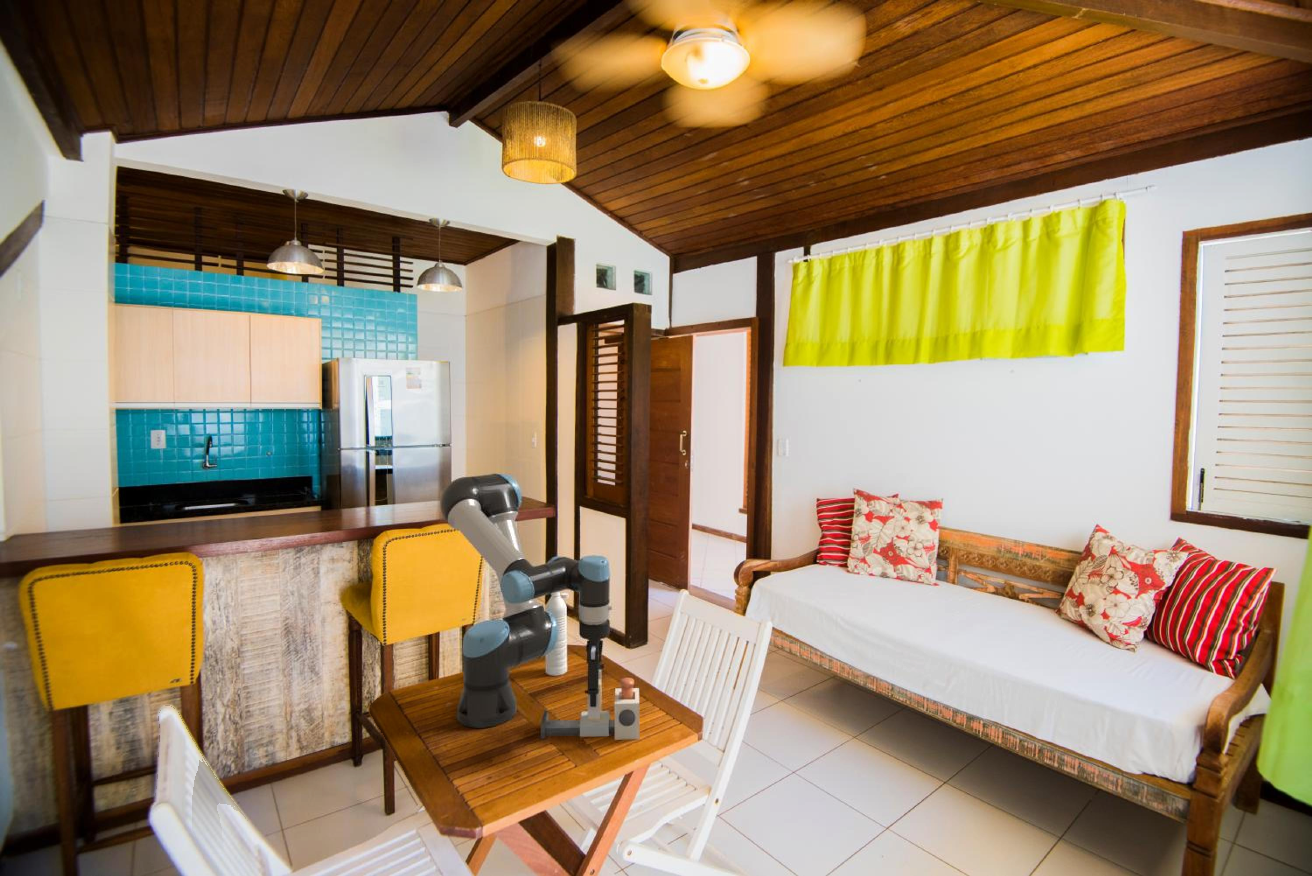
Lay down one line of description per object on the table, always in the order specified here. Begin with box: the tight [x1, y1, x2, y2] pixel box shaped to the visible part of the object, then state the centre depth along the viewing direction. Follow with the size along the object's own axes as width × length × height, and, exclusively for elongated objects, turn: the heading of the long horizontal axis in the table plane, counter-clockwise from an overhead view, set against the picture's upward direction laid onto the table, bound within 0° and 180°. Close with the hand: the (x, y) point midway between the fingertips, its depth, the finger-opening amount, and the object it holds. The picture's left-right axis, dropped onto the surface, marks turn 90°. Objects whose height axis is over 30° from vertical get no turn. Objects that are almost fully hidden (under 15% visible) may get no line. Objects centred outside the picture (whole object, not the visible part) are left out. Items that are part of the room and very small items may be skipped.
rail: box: [540, 710, 615, 740], centre depth 154 cm, size 19×6×4 cm, turn 92°
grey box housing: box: [614, 687, 640, 741], centre depth 154 cm, size 6×8×9 cm
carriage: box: [579, 679, 611, 738], centre depth 154 cm, size 7×7×12 cm
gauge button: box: [619, 677, 635, 700], centre depth 154 cm, size 4×4×6 cm
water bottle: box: [544, 591, 570, 677], centre depth 187 cm, size 9×6×25 cm
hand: (594, 706), depth 154 cm, fingers open, 11 cm apart
